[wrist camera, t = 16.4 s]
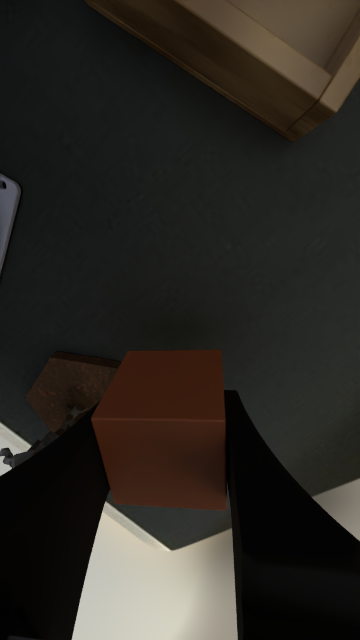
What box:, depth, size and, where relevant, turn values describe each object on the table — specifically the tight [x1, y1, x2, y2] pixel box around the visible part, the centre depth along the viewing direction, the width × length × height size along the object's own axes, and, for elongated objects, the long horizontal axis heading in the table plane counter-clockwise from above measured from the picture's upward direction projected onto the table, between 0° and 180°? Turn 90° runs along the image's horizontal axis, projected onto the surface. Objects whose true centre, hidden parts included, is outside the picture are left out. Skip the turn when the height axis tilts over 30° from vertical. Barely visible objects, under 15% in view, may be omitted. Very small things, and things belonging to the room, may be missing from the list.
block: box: [91, 350, 227, 511], centre depth 11 cm, size 4×4×4 cm
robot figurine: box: [0, 351, 121, 469], centre depth 19 cm, size 11×9×12 cm
